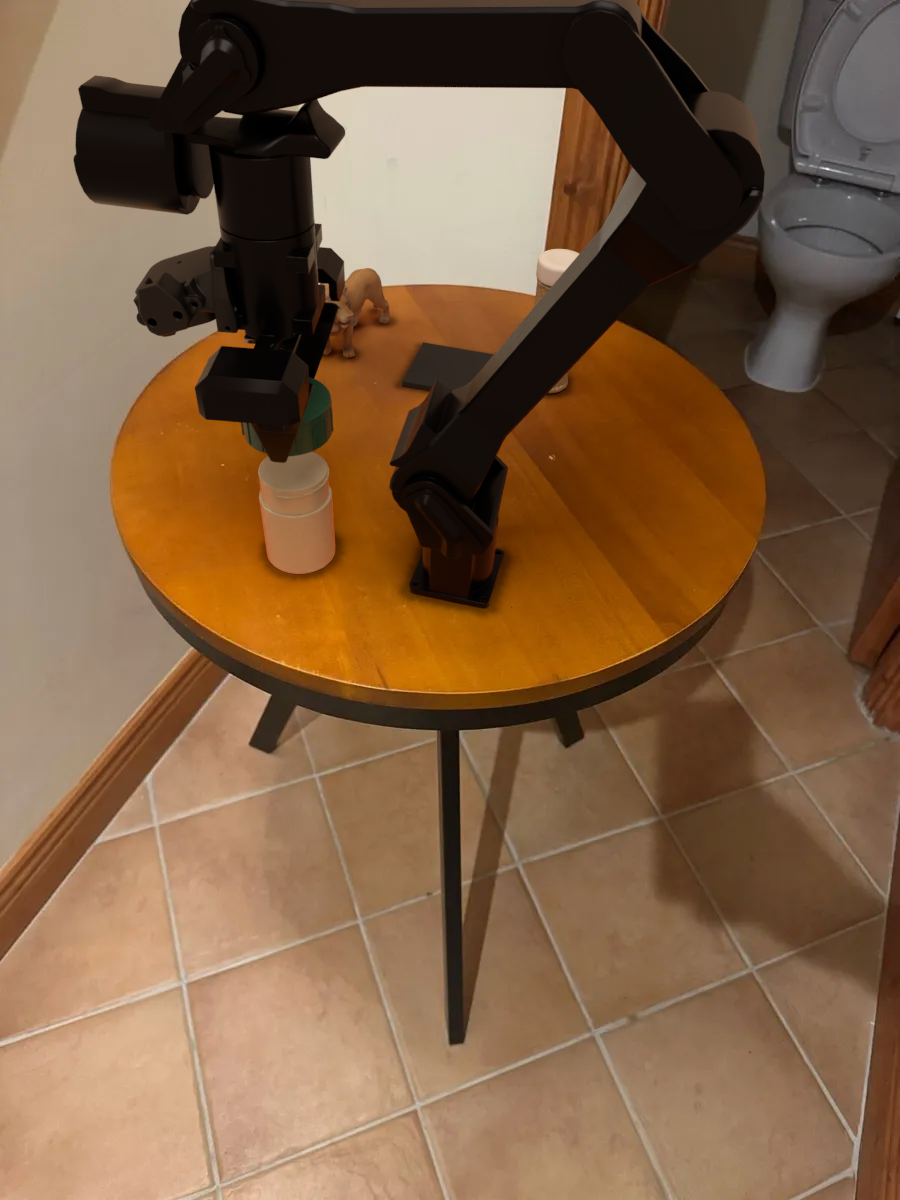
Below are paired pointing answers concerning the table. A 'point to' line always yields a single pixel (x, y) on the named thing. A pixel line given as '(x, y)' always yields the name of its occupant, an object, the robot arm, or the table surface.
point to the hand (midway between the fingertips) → (288, 433)
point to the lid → (305, 424)
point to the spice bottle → (547, 275)
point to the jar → (297, 513)
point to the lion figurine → (356, 306)
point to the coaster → (444, 367)
